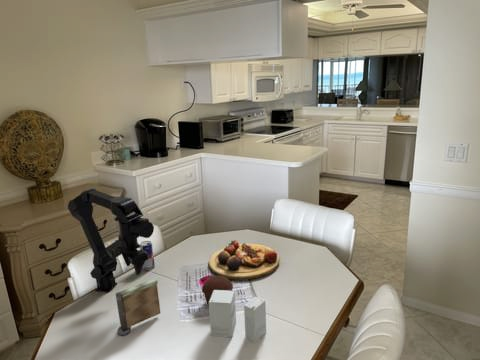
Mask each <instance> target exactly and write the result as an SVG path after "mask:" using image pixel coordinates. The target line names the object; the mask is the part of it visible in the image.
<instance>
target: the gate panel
mask: <svg viewBox="0 0 480 360" xmlns="http://www.w3.org/2000/svg"><path fill="white" fill-rule="evenodd" d="M158 283H159V282H158V279H157V278H152V279H150V280H148V281H144V282H142V283H139V284H137V285H134V286H132V287H129V288H126V289H123V290H121V291H119V292H116V293H115V298H116V300H115V301H116V305H117V312H118V318H119V323H120V327H121V330H125V329H127V328H129V327H131V328H132V327H134V326H135V325H138V324H140V323H142V322H144V321H147V320H149V319H151V318H154V317H155V316H158V315H160V314H161V307H160V306H161V305H160V299H159V290H158Z"/></svg>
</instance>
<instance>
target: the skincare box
mask: <svg viewBox="0 0 480 360" xmlns="http://www.w3.org/2000/svg"><path fill="white" fill-rule="evenodd" d="M266 307H267V306H266V300H264V299H262V298H260V297H257V296H254V297H253V298H252V299H251V300H249V301H248V302H247V303H245V304H244V307H243V309H244V310H243V313H244V330H245V332H244V334H245V337H246V338H247V339H249V340H250V341H253V342H255V343H256V342H257V341H258V340H259V339H260V338H261V337H262V336H263V335H264V334H266V333H267V318H266V316H267V313H266V312H267V311H266Z"/></svg>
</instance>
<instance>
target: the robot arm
mask: <svg viewBox="0 0 480 360" xmlns="http://www.w3.org/2000/svg"><path fill="white" fill-rule="evenodd" d="M93 204H95V205H98V206H100V207H103V208H105V209H108V210H110V212H111V214H112V215H114V216H115V217H114V219H113V220H114V221H116V222H118V226H119V228H118V229H119V234H118V236H117V239H116V240H114V242H112V243H111V244H109V245H108V246H106V245H105V243H104V240H103V238H102V236H101V233H100V232H99V229H98V227H97V224H96V222H95V220H94V217H93V213H94V206H93ZM67 210H68V211H69V212H70V214H71V216H72V217H73V218H74V219H75V220H77V221H78V222H79V224H80V225H81V228H82V230H83V232H84V235H85V237H86V240H87V241H88V244H89V247H90V248H91V251H92V253H93V258H92V264H93V268H92V270H91V271H90V273H89V274H90V276H91V278H92V279H95V281H96V288H95V289H94V291H95V292H105V293H110V292H111V291H112V290H113V289H114V288H115V287H116V286H117V285H118V282H117V281H116V277H115V276H114V272H115V271H116V270H117V266H118V259H117V258H119V257H120V256H122V257H123V260H124V262H125V265H126V266H127V267H129V266H131V265H132V266H133V268H134V272H135V274H136V276H139V275H140V274H141V272H142V270H143V265H144V263H145V261H146V260H148V259H149V255H148V253H147V252H145V251H144V250H142V249H141V250H140V244H139V242H138V241H139V240H138V238H139V237H141V238H144V239H150V237H152V235H153V234H154V230H155V227H154V225H153V223H152V222H151V221H150V220H149V218H146V217H145V218H143V217H144V213H143V212H142V210H141V209H140V208H139V206H138V204H137V203H136V201H135V199H133V198H131V197H126V196H125V197H116V196H113V195H111V194H108V193H104V192H102V191H99V190H97V189H96V188H89V189H85V190H84V191H82V192H81V193H80V194H79V195H77V196H76V197H74V198H73V199H70V200H69V201H68V204H67Z"/></svg>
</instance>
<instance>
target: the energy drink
mask: <svg viewBox="0 0 480 360" xmlns="http://www.w3.org/2000/svg"><path fill="white" fill-rule="evenodd" d="M139 245H140V248H139V250H141V249H142V250H144V251H145V252H147V253H148V255H149V259H148V260H146V261H145V263H144V265H143V267H142V270H145V271H150V270H152V269H154V268H155V266H156V264H155V263H156V262H155V258H154V257H155V255H154V250H153V243H152V241H151V240H143V241H140V244H139Z"/></svg>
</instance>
